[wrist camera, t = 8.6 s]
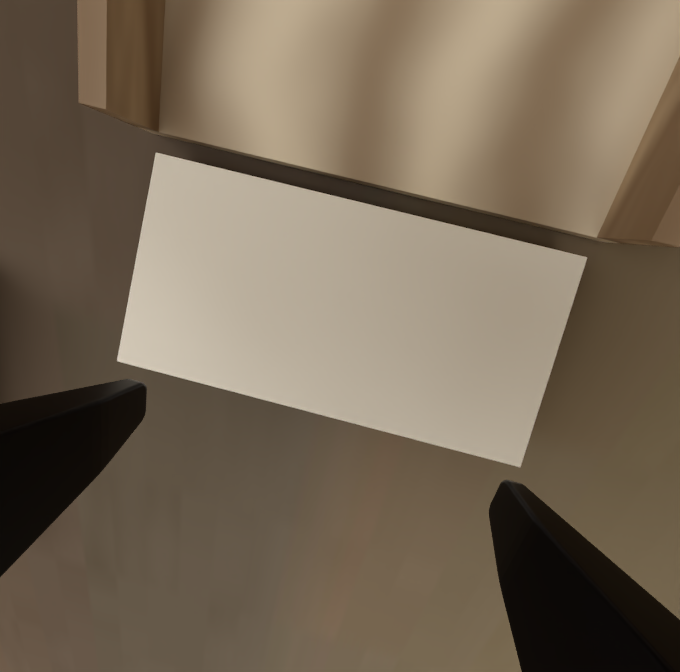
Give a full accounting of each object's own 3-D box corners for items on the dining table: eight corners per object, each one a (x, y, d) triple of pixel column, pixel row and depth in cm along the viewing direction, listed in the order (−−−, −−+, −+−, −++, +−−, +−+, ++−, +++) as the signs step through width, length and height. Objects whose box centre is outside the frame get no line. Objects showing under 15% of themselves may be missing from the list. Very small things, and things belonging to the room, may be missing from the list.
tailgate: (587, 257, 14) (520, 467, 15) (562, 262, 15) (503, 450, 16) (155, 152, 14) (116, 361, 15) (177, 168, 16) (141, 355, 17)
